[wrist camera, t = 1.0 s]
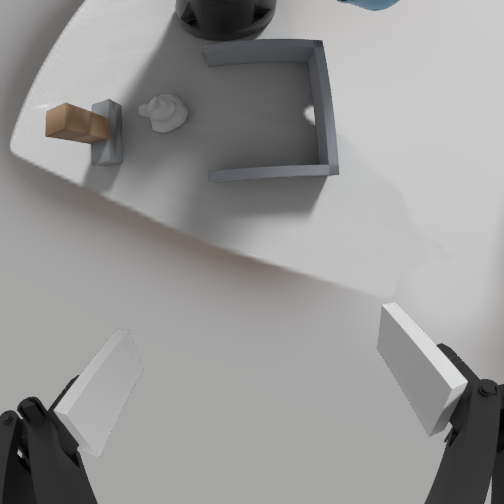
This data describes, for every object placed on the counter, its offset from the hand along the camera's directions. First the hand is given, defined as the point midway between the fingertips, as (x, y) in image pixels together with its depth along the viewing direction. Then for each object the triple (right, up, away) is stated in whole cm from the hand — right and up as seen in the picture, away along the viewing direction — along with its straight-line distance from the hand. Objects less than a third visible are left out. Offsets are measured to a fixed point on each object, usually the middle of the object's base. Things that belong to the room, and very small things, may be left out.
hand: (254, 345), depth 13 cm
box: (+1, +23, +20) cm, 31 cm away
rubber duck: (-12, +23, +21) cm, 33 cm away
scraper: (-21, +22, +21) cm, 36 cm away
